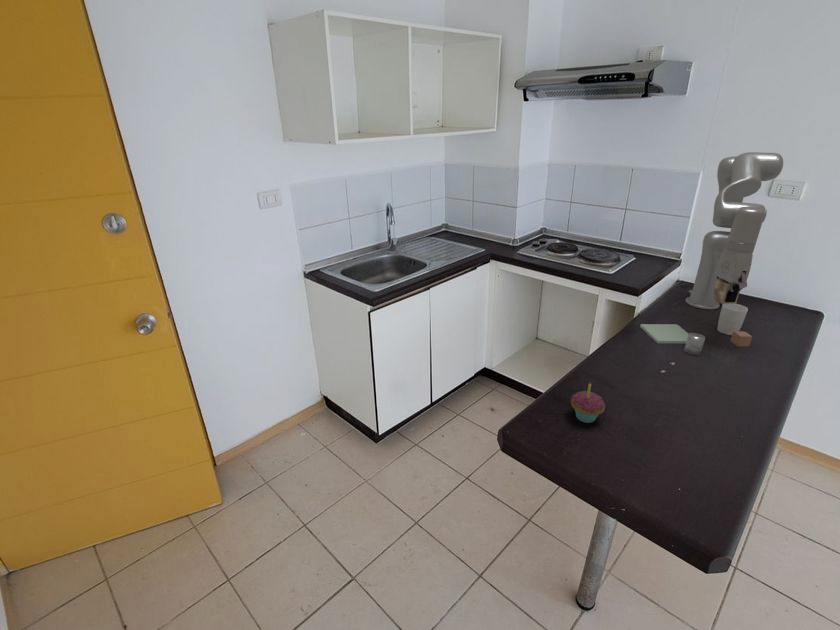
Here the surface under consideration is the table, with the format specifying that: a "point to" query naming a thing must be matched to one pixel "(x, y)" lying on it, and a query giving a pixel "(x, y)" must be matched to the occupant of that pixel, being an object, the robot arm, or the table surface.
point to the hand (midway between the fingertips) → (724, 298)
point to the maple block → (722, 291)
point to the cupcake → (587, 405)
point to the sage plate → (665, 333)
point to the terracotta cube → (741, 338)
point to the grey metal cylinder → (694, 343)
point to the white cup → (731, 318)
